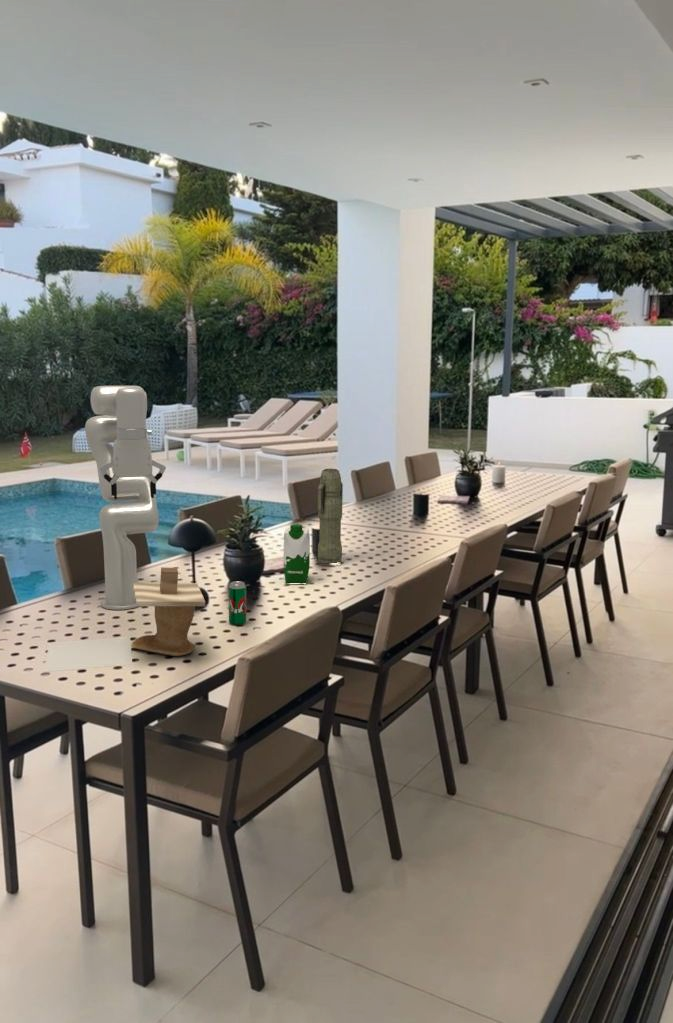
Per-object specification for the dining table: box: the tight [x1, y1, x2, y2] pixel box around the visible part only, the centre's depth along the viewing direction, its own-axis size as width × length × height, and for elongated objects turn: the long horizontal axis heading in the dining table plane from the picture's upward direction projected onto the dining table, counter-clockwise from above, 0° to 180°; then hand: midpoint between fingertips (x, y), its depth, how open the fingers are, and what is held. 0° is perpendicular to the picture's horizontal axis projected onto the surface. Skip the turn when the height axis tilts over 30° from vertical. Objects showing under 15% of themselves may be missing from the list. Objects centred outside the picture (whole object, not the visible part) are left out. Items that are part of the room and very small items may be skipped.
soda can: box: [227, 580, 247, 626], centre depth 247 cm, size 5×5×12 cm
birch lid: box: [133, 567, 206, 607], centre depth 222 cm, size 17×17×7 cm
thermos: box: [317, 468, 344, 563], centre depth 312 cm, size 9×12×35 cm
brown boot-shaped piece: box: [131, 606, 196, 657], centre depth 224 cm, size 15×12×15 cm
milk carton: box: [283, 523, 311, 584], centre depth 290 cm, size 9×9×20 cm
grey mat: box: [43, 636, 133, 673], centre depth 221 cm, size 21×21×1 cm
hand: (134, 497), depth 231 cm, fingers open, 9 cm apart
